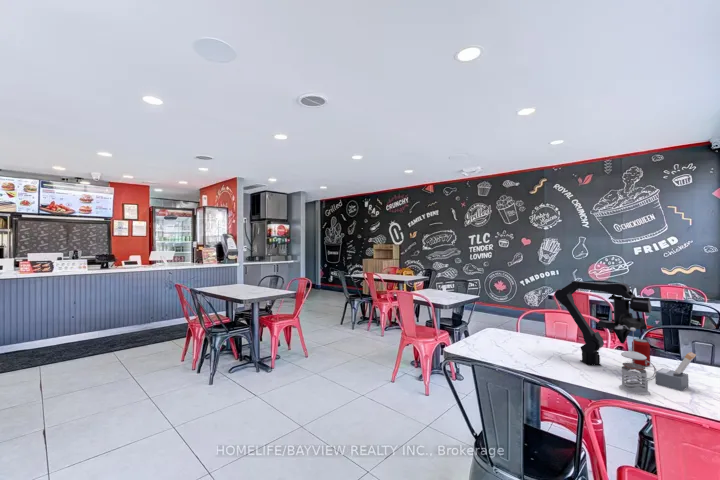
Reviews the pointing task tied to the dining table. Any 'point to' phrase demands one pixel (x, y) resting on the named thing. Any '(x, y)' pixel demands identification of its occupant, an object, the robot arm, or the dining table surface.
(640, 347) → the beverage can
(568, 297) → the robot arm
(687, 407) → the dining table surface
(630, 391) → the french press
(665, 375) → the switch box
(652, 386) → the dining table surface
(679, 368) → the lever
